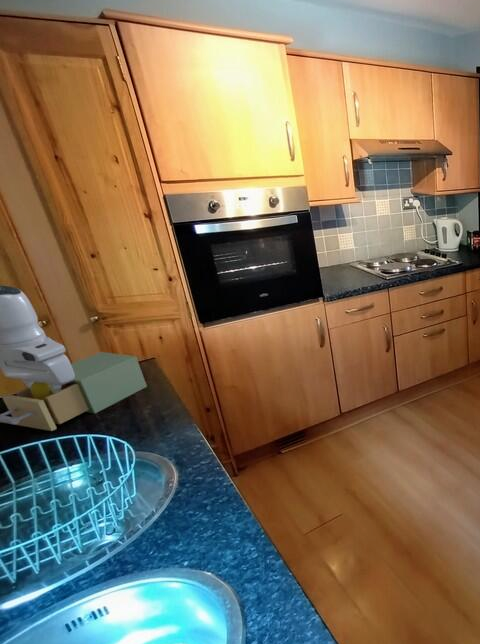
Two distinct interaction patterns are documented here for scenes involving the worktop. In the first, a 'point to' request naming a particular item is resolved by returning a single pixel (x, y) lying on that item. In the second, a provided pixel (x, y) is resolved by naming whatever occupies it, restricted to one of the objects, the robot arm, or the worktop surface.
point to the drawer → (45, 407)
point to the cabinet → (108, 378)
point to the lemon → (40, 391)
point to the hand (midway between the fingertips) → (47, 394)
